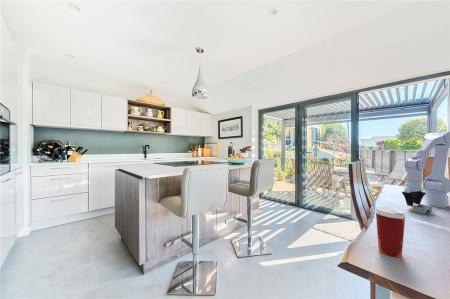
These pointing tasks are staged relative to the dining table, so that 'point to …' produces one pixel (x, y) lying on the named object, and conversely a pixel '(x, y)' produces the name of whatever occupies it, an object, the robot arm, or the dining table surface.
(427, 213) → the zinc pin
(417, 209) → the hitch block
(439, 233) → the dining table surface
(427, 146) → the robot arm
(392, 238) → the paper cup
